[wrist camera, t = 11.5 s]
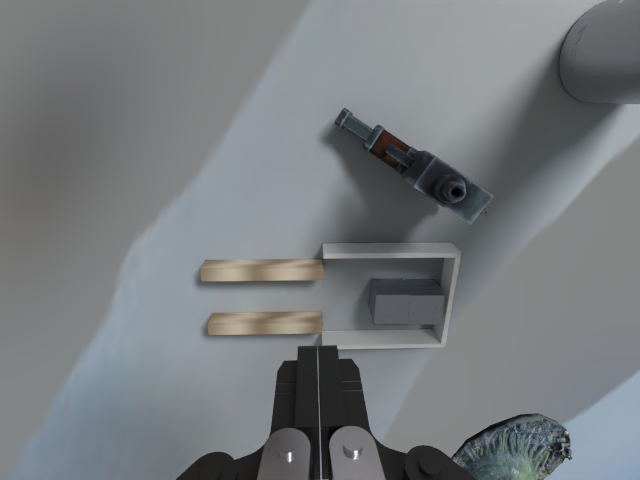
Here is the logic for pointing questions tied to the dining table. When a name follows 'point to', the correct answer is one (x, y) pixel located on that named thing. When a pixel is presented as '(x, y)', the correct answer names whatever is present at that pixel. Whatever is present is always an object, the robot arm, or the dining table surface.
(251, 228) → the dining table surface
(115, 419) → the dining table surface
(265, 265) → the slotted rail
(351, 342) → the tray
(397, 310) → the dark gray rectangular block
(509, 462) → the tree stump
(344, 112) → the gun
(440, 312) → the dark gray cube
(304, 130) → the dining table surface
